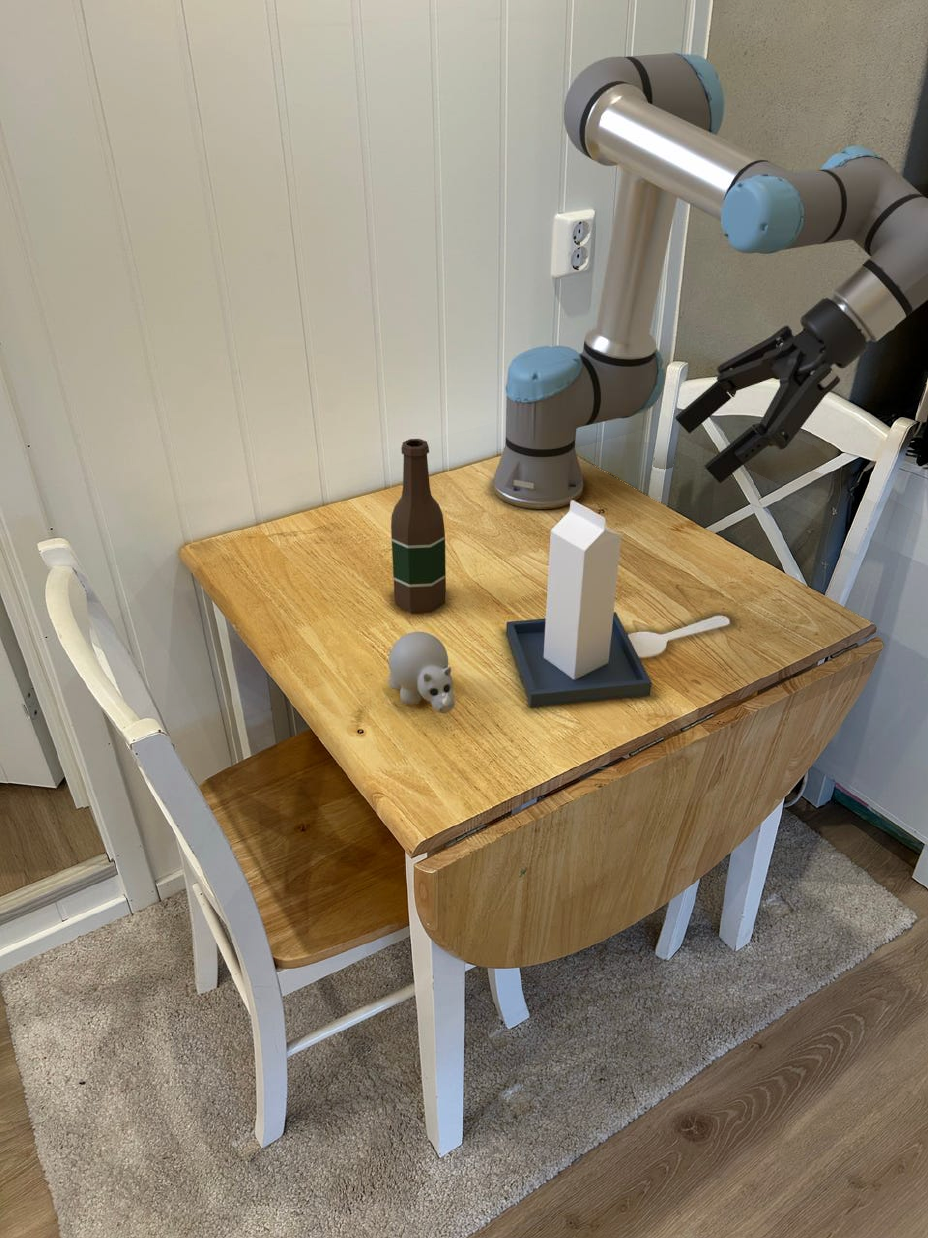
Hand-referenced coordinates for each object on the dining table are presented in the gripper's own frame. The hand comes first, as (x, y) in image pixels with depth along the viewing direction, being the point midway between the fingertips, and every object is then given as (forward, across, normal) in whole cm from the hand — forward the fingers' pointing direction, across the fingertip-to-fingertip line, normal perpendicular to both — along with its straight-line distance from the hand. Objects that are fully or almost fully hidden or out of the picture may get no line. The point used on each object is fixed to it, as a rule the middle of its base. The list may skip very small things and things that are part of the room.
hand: (696, 449), depth 113 cm
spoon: (+19, 0, -20) cm, 27 cm away
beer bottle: (+43, +10, +4) cm, 44 cm away
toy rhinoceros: (+42, -13, +4) cm, 45 cm away
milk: (+28, -6, -9) cm, 30 cm away
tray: (+29, -6, -10) cm, 31 cm away
